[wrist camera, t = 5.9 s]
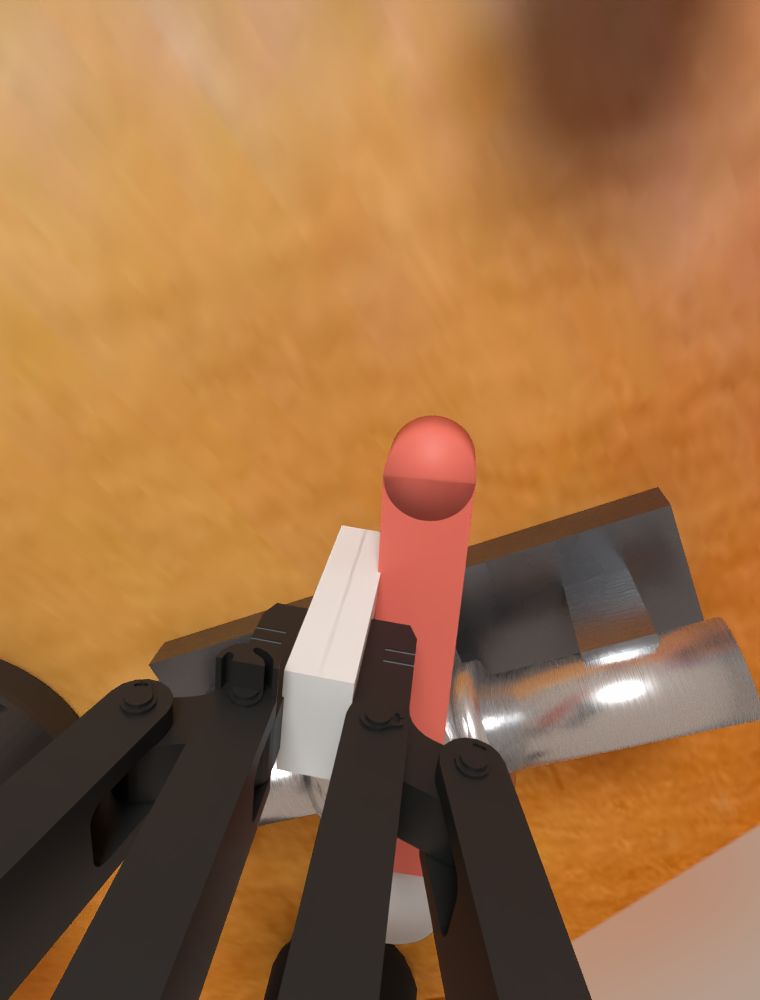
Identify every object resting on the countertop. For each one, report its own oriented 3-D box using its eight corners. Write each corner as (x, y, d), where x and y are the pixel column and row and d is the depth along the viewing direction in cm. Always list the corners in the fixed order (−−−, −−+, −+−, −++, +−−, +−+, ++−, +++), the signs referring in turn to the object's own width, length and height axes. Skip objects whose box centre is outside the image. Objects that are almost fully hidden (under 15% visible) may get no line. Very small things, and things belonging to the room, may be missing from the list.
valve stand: (244, 766, 40) (157, 981, 29) (164, 642, 37) (31, 830, 26) (707, 654, 33) (832, 885, 22) (658, 487, 30) (775, 655, 18)
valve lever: (435, 900, 24) (432, 950, 22) (350, 887, 24) (342, 935, 23) (499, 420, 16) (503, 443, 14) (374, 409, 16) (364, 430, 15)
